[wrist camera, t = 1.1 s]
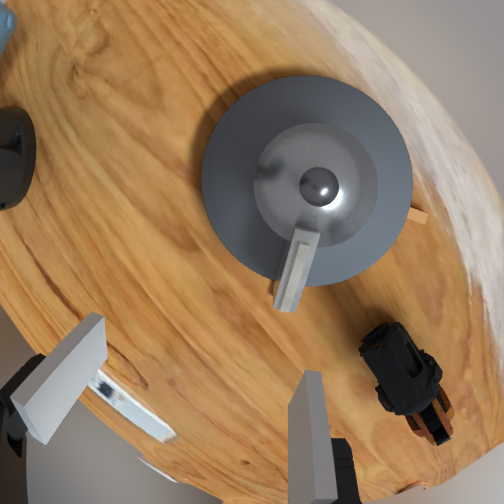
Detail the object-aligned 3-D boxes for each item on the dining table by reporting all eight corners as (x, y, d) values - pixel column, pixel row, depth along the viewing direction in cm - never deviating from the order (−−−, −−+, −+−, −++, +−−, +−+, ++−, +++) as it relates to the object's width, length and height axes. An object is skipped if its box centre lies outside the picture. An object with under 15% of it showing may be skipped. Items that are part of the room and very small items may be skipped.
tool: (388, 291, 37) (412, 313, 22) (451, 397, 33) (481, 448, 18) (343, 324, 39) (342, 363, 25) (411, 424, 35) (426, 482, 20)
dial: (270, 114, 22) (269, 105, 18) (378, 146, 22) (396, 144, 18) (232, 277, 28) (225, 298, 23) (331, 300, 27) (339, 323, 23)
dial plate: (162, 226, 29) (155, 231, 27) (277, 46, 22) (278, 38, 20) (333, 332, 31) (336, 342, 29) (448, 178, 24) (458, 180, 23)
